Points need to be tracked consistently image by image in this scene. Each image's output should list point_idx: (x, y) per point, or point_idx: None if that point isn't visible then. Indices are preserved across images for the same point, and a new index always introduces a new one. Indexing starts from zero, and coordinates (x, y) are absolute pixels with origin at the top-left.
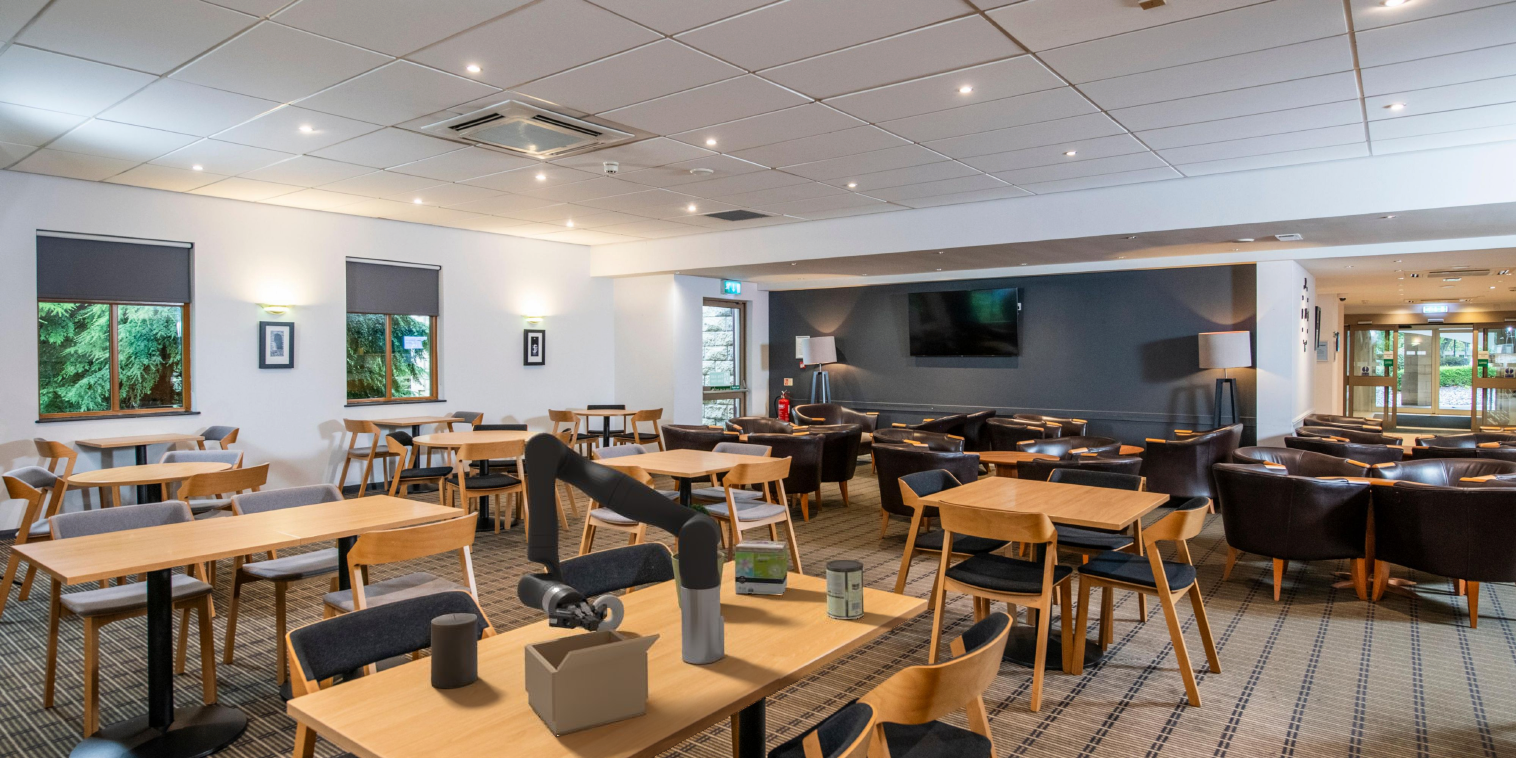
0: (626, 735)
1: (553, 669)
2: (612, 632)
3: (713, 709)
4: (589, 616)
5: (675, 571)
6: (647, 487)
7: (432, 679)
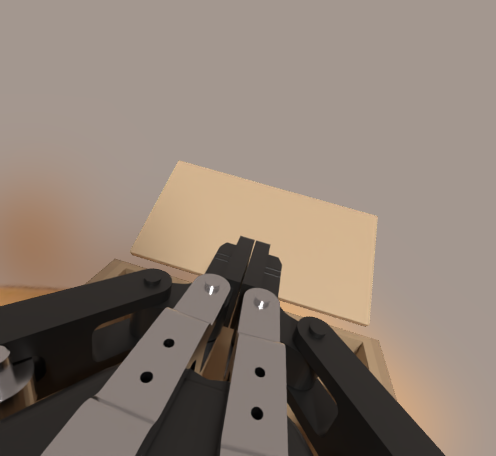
0: None
1: (371, 355)
2: None
3: (44, 293)
4: (238, 270)
5: None
6: None
7: None
